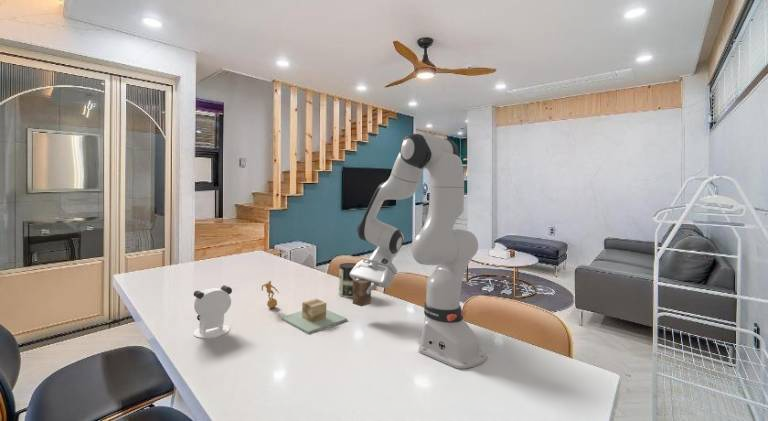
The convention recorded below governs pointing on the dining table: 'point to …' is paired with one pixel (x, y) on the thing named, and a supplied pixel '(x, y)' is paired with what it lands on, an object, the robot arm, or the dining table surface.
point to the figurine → (271, 301)
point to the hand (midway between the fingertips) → (360, 291)
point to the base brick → (314, 310)
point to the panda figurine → (212, 311)
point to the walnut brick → (361, 292)
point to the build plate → (311, 327)
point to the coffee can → (346, 280)
